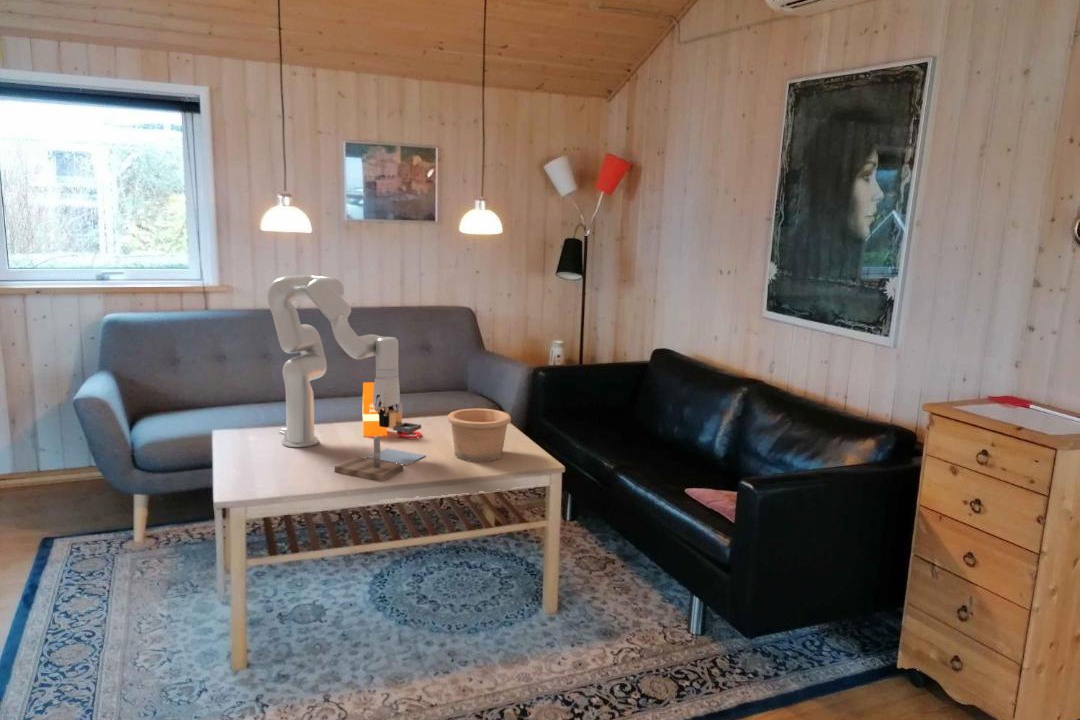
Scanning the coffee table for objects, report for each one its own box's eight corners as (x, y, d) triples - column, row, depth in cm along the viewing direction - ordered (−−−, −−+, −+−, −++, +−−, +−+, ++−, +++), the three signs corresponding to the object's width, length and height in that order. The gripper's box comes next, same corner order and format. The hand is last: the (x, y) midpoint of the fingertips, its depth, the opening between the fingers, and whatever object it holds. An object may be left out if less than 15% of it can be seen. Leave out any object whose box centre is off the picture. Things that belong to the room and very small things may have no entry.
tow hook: (422, 434, 291) (398, 432, 290) (424, 402, 288) (400, 400, 288) (420, 440, 282) (395, 438, 282) (422, 407, 280) (397, 405, 280)
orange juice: (387, 435, 285) (387, 384, 282) (363, 436, 283) (363, 384, 279) (385, 430, 292) (386, 380, 289) (362, 431, 290) (362, 380, 287)
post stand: (334, 472, 242) (334, 435, 239) (357, 462, 252) (357, 427, 250) (381, 481, 235) (381, 444, 233) (402, 470, 246) (403, 435, 243)
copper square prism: (375, 427, 257) (375, 411, 256) (387, 423, 263) (387, 407, 262) (410, 432, 251) (410, 416, 251) (421, 428, 258) (421, 412, 257)
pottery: (450, 465, 253) (451, 424, 251) (445, 446, 274) (445, 408, 272) (514, 463, 258) (515, 423, 255) (503, 445, 279) (504, 407, 276)
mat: (366, 458, 257) (366, 457, 257) (386, 449, 268) (386, 448, 268) (406, 465, 251) (406, 464, 251) (425, 456, 262) (425, 455, 262)
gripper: (391, 368, 265) (392, 419, 268) (363, 376, 250) (363, 429, 253) (409, 370, 262) (409, 421, 265) (382, 378, 247) (382, 432, 250)
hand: (387, 425), depth 259 cm, fingers closed on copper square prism, 3 cm apart
